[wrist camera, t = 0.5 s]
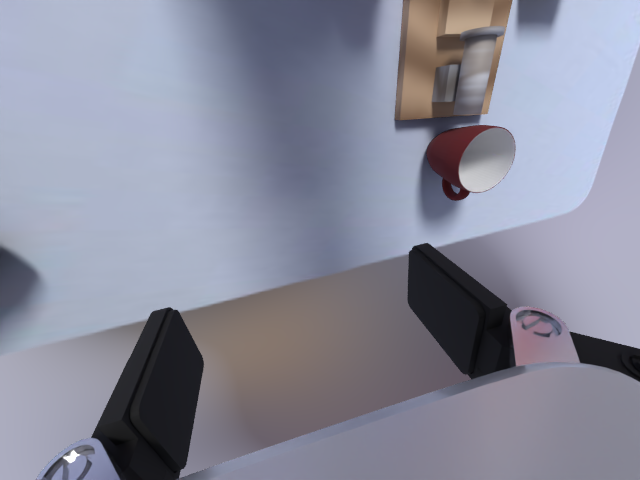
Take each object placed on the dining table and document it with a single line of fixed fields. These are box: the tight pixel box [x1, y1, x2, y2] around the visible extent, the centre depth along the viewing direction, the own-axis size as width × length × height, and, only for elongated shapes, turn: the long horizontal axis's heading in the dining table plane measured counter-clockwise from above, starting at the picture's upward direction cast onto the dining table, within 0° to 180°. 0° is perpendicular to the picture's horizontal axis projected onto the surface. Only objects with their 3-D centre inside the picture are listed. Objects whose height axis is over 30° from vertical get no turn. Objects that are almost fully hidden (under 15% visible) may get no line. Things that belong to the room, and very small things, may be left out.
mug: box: [427, 125, 515, 201], centre depth 38 cm, size 10×8×10 cm
